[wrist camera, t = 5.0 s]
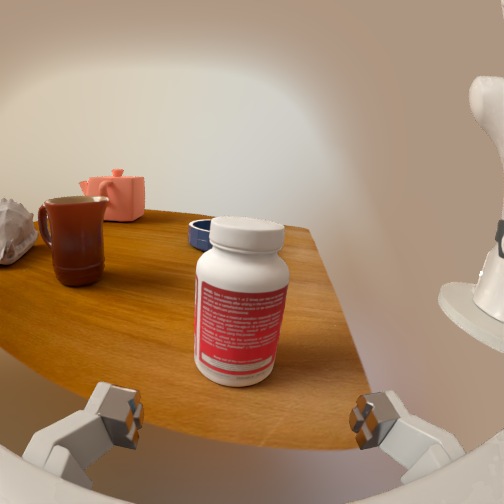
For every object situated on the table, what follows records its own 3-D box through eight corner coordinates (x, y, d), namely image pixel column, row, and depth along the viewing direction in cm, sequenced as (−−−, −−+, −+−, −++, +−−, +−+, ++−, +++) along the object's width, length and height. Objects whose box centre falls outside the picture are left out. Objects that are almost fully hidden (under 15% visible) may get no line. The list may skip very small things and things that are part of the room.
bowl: (253, 240, 61) (255, 223, 59) (259, 259, 48) (262, 237, 46) (193, 235, 59) (194, 217, 58) (182, 252, 46) (183, 230, 45)
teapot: (149, 213, 81) (152, 169, 77) (127, 227, 60) (130, 169, 57) (94, 211, 78) (96, 169, 75) (61, 223, 57) (62, 170, 54)
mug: (121, 272, 34) (121, 197, 31) (85, 297, 26) (79, 205, 23) (62, 260, 35) (60, 194, 32) (25, 278, 27) (18, 202, 24)
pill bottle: (288, 376, 19) (317, 233, 16) (213, 399, 16) (224, 233, 13) (248, 336, 24) (263, 214, 21) (183, 348, 21) (186, 213, 18)
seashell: (-8, 272, 25) (-15, 205, 23) (-15, 251, 31) (-18, 199, 29) (54, 256, 36) (52, 195, 33) (34, 240, 42) (33, 191, 39)
